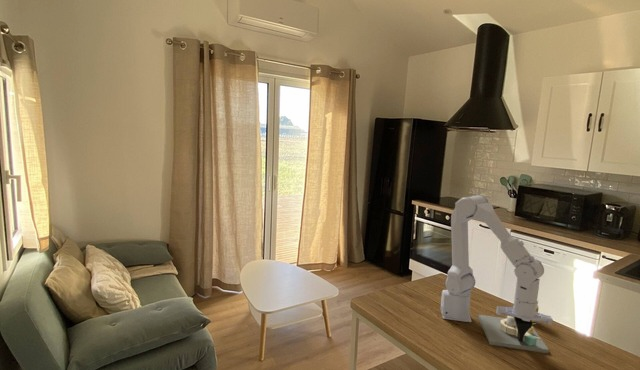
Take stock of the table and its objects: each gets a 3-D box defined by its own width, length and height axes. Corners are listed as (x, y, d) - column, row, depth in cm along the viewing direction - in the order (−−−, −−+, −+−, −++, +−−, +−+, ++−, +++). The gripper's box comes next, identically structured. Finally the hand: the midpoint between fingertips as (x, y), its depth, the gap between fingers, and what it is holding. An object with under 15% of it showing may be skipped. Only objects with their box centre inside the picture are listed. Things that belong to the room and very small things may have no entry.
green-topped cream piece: (495, 325, 110) (496, 320, 110) (510, 323, 112) (511, 317, 111) (524, 346, 99) (525, 340, 99) (540, 343, 101) (541, 337, 100)
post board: (490, 344, 102) (491, 326, 101) (478, 317, 118) (479, 301, 117) (548, 353, 99) (550, 334, 98) (528, 324, 114) (530, 308, 113)
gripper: (500, 300, 98) (495, 341, 101) (558, 310, 94) (551, 354, 96) (497, 290, 105) (492, 329, 107) (550, 299, 100) (544, 340, 102)
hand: (520, 340), depth 102 cm, fingers closed, pressing on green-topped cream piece
